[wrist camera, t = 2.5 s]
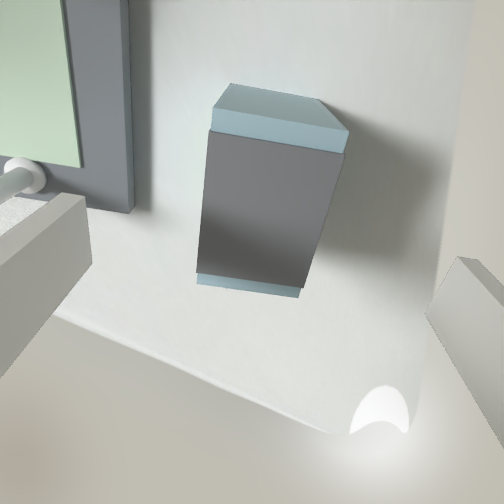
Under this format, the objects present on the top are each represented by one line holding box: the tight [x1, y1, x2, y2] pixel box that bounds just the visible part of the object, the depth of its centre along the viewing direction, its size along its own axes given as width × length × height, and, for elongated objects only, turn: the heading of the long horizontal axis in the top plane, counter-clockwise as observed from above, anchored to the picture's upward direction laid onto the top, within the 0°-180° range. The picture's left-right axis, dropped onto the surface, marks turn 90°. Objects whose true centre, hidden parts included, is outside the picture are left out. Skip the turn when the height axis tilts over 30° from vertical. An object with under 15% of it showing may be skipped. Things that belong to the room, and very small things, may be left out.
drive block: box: [196, 83, 349, 298], centre depth 17 cm, size 5×8×8 cm, turn 171°
